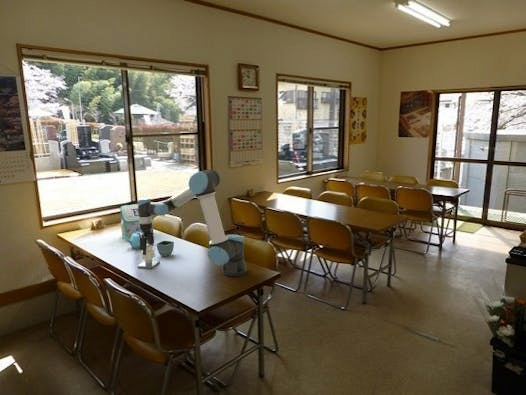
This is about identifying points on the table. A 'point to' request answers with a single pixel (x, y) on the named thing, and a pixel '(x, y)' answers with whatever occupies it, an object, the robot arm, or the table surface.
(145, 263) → the hub
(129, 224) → the lunch bag
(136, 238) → the teapot
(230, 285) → the table surface
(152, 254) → the knob
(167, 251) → the flower pot
